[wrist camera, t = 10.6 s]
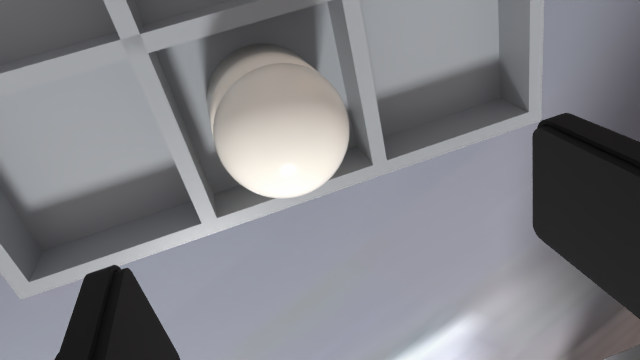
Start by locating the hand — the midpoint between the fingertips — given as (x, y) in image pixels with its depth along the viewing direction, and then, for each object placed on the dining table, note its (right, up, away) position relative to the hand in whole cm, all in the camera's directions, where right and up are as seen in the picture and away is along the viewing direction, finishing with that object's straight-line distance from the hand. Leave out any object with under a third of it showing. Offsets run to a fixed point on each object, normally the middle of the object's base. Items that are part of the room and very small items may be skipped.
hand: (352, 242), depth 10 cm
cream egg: (-3, +5, +8) cm, 9 cm away
